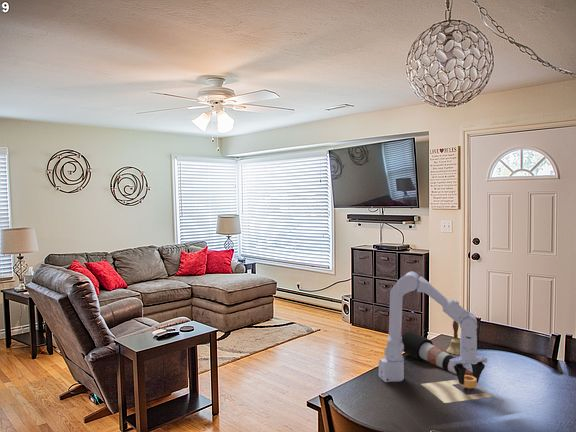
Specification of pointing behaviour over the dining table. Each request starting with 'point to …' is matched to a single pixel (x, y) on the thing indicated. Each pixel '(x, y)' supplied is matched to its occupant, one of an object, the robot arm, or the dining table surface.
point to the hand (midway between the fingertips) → (468, 382)
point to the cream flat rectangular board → (452, 391)
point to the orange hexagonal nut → (469, 381)
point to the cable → (428, 352)
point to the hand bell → (454, 341)
